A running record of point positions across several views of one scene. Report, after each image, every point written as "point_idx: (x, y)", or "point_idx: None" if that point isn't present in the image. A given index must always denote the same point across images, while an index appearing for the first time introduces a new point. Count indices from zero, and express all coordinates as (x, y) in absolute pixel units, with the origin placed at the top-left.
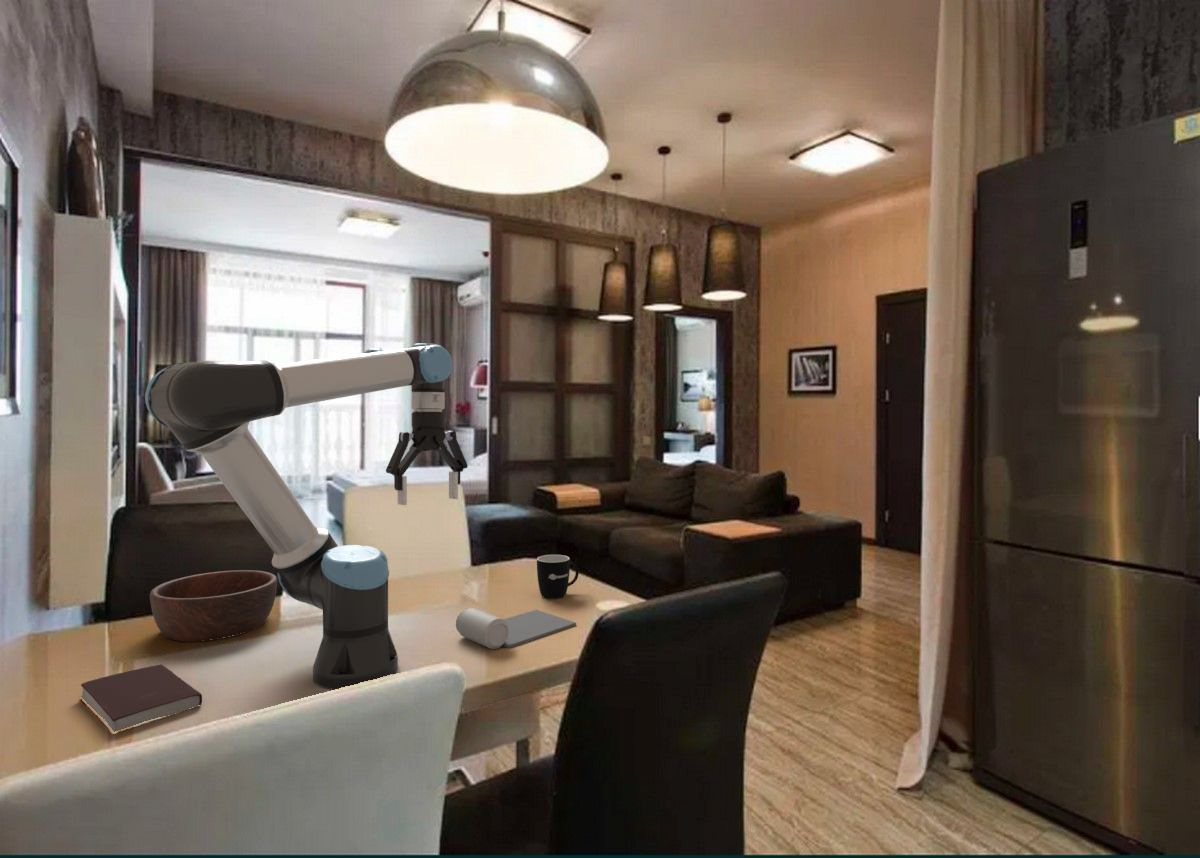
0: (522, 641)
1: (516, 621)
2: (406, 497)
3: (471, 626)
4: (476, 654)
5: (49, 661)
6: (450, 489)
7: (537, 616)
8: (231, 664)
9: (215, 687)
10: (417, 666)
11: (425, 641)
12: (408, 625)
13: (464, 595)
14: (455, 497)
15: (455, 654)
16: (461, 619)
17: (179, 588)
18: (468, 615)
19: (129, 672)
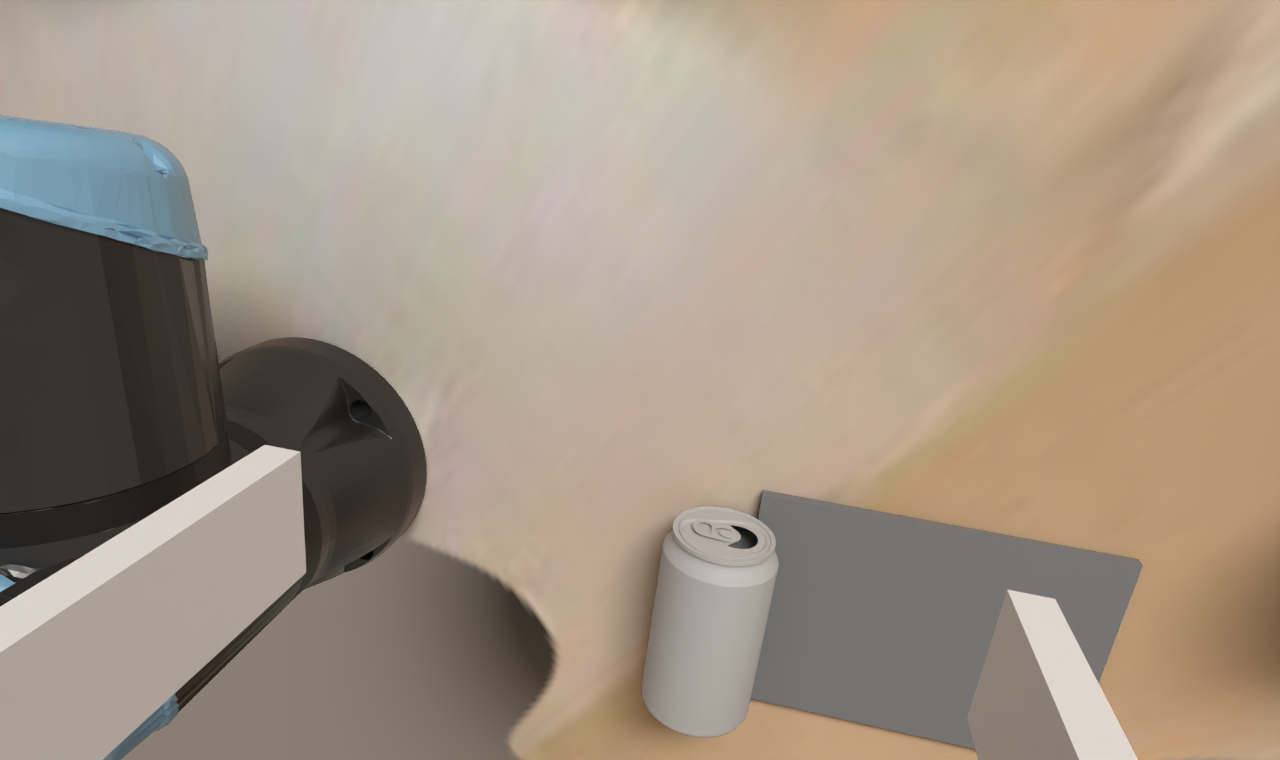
0: (788, 705)
1: (946, 584)
2: (248, 621)
3: (651, 627)
4: (628, 636)
5: None
6: (1032, 714)
7: None
8: (64, 65)
9: None
10: (458, 556)
11: (597, 426)
12: (667, 228)
13: (1214, 52)
14: (976, 736)
15: (587, 585)
16: (663, 571)
17: None
18: (674, 606)
19: None
